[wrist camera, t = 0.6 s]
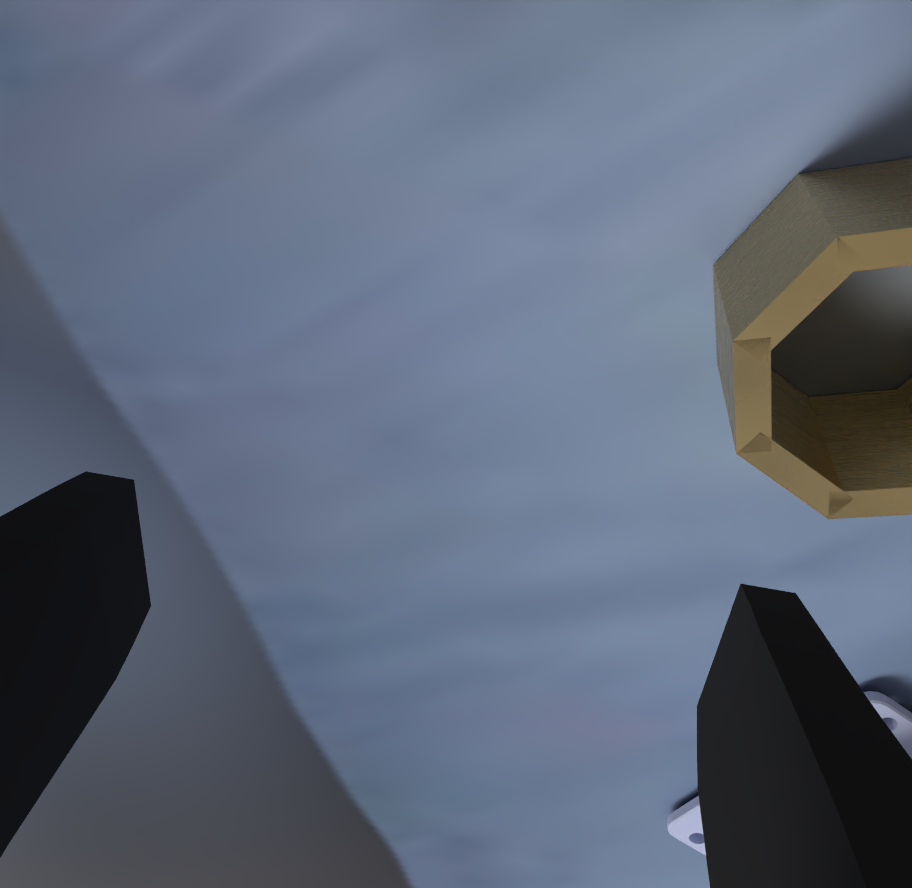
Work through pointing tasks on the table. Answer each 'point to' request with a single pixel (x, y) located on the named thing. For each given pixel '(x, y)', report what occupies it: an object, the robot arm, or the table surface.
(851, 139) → the table surface
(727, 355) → the collar
